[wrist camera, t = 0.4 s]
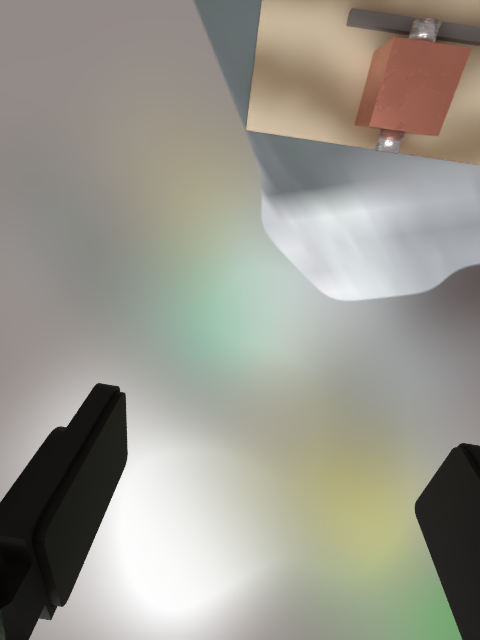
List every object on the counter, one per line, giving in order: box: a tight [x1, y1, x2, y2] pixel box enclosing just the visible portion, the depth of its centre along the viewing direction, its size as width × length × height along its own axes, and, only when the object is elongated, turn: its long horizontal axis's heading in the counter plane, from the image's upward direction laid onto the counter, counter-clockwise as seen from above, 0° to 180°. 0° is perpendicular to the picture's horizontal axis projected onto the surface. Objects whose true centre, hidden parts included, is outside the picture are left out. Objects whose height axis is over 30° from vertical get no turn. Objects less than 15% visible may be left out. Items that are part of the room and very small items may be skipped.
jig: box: [246, 0, 480, 165], centre depth 23 cm, size 18×23×5 cm
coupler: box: [354, 18, 472, 154], centre depth 25 cm, size 5×8×5 cm, turn 173°
